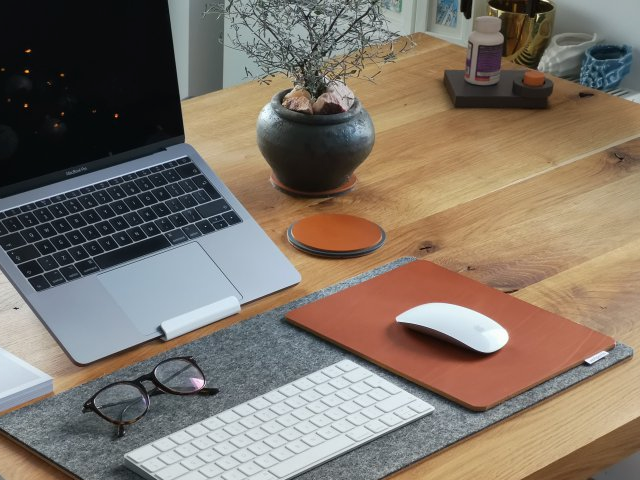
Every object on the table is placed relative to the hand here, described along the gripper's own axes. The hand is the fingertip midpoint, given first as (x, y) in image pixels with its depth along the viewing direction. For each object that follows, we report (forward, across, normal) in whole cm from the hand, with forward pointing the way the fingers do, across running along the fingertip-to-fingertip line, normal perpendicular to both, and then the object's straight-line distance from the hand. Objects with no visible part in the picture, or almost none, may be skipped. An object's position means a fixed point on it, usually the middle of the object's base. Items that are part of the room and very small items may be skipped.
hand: (498, 16), depth 170 cm
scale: (+12, 0, 0) cm, 12 cm away
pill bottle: (+10, -2, 0) cm, 11 cm away
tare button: (+9, +5, -4) cm, 12 cm away
